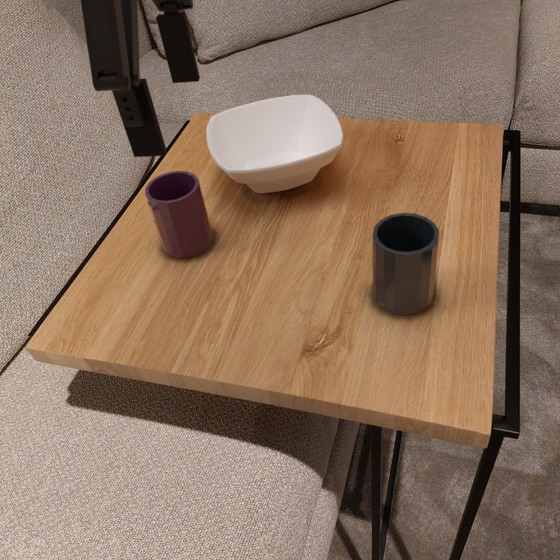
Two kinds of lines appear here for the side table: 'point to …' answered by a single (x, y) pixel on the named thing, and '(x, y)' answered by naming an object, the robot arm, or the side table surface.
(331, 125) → the bowl
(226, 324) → the side table surface
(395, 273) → the slate cup
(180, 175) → the plum cup
